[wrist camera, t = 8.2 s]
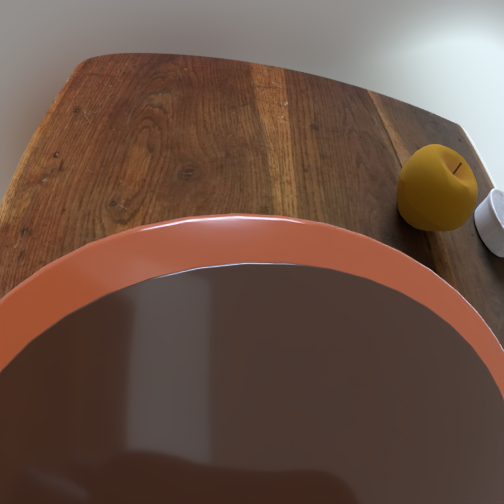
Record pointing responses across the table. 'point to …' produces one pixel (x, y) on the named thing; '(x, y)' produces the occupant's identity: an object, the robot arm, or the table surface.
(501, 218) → the ramekin
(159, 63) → the table surface
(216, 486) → the terracotta pot
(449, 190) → the apple
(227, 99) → the table surface
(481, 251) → the table surface
